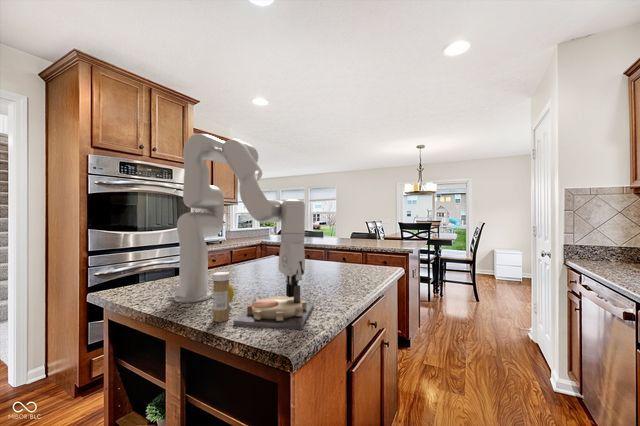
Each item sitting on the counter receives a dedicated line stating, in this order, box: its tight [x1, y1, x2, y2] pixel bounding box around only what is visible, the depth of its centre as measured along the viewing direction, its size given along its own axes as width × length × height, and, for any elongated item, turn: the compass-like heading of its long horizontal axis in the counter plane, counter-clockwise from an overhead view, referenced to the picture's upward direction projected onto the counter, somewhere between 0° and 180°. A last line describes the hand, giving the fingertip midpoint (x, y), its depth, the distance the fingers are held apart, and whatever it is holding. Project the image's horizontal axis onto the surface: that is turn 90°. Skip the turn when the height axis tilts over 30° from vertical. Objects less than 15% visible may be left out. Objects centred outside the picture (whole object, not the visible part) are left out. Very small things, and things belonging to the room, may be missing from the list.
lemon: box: [229, 283, 235, 304], centre depth 93 cm, size 6×6×8 cm
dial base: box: [232, 302, 315, 330], centre depth 84 cm, size 19×19×1 cm
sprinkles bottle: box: [212, 271, 231, 323], centre depth 80 cm, size 5×5×13 cm
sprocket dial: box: [246, 284, 308, 321], centre depth 84 cm, size 18×18×7 cm
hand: (291, 296), depth 88 cm, fingers closed
